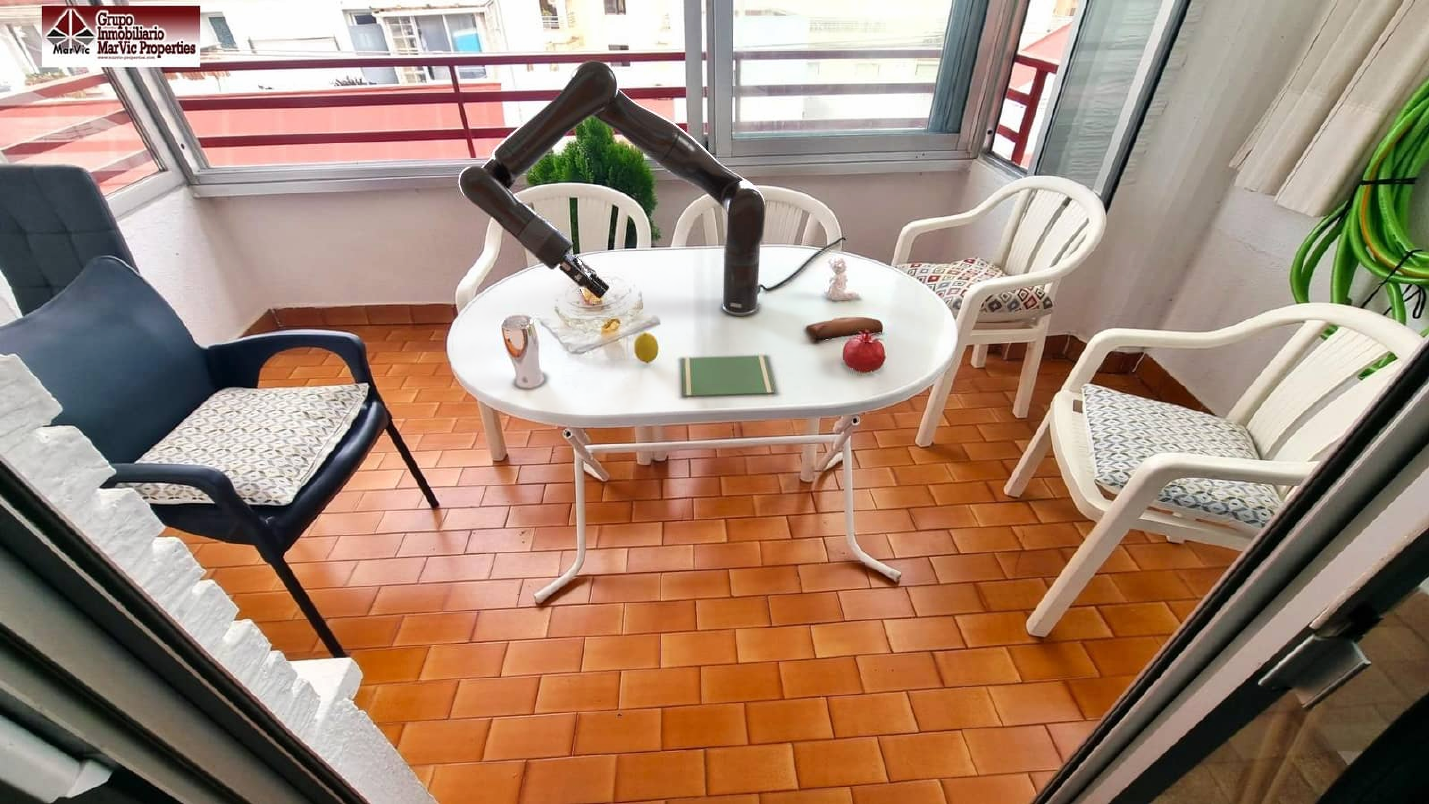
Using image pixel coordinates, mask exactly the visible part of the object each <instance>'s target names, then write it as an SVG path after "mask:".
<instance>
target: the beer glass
mask: <svg viewBox="0 0 1429 804" xmlns="http://www.w3.org/2000/svg"><path fill="white" fill-rule="evenodd" d="M500 328H501V335H502V340H503V344H504V348H505V350H506V353H507V355H508V358H509V359H510V361H511V363H512V366H513V368H514V372H515V373H514V374H515V383H516V386H518V387H519V388H522V389H532V388H535V387H538V386H540V385H541V384H542V383H543V382H544V380H545V376H544V374H543V372H542V370H541V366H540V356H539V355H540V350H539V349H540V347H539V338H538V333H537V329H536V326H535V324H534V320H533V318H532V316H530V315H527V314H514V315H510V316H507V317H505V318H504V319H503V320H501V322H500Z"/></svg>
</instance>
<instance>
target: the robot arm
mask: <svg viewBox="0 0 1429 804" xmlns="http://www.w3.org/2000/svg"><path fill="white" fill-rule="evenodd" d="M590 117H592V118H594V119H596V120H597V121H600V122H601V123H603V124H604V125H606V126H608V127H610V128H611V129H612V130H614V131H616V132H617V133H618V134H620V135H621V136H623V137H624V138H625V139H626V140H627V141H629V142H630V143H631V144H632V145H634V147H635V148H636V149H638V150H639V151H640V152H641V153H643V154H644V155H645V156H646V157H648V158H649V159H651V160H652V161H653V162H654V163H656V164H657V165H658V166H660V167H661V168H662V169H663V170H665V171H667V172H668V173H669V174H671V175H672V176H674V177H676V178H678V179H680V180H681V181H683V182H686V183H688V184H690V185H693V186H695V187H697V188H699V189H700V190H702V191H704V192H705V193H706V194H708V196H710V197H711V198H712V199H713V200H714V201H716V202H717V204H719V205H720V206H721V208H723V209H724V211H725V212H726V214H727V216H726V217H727V219H726V224H727V225H726V235H725V236H724V239H723V293H722V294H723V295H722V296H723V297H722V298H723V299H722V301H723V302H722V310H723V311H724V312H725V313H726V314H727V315H731V316H735V317H746V316H747V317H748V316H751V315H753V314H754V313H756V312H757V311H758V295H759V294H760V293H761V289H762V290H764V291H766V292H767V291H772V290H774V289H777V288H779V287H780V286H782V285H784V284H785V283H787V282H788V281H790V280H791V279H793V278H794V277H795V276H796V275H797V274H798V273H799V272H801V271H802V269H803V268H805V267H806V266H807V265H808V264H809V263H810V262H811V261H812V260H813V259H814V258H815V257H817V256H818V255H819V254H821V253H822V252H823V251H825V250H827V249H828V248H830V247H833V246H834V245H837V243H839V242H841V241H847V239H846V238H845V236H843V237H842V236H841V237H840V238H838V239H837V240H836V241H834V242H832V243H829V244H828V245H826V246H823V248H821V249H820V250H823V251H819V250H818V251H817V252H815V253H814V254H813V255H812V256H811V257H809V258H808V259H807V260H806V261H805V262H804V263H803V264H802V265H801V266H800V267H799V268H798V269H797V270H795V271H794V272H793V273H792V274H791V275H789V276H788V277H786V279H784V280H782V281H780V282H779V283H777V284H775V285H774V286H770V287H766V286H765V285H764V284H762V283H759V273H760V257H761V255H760V253H761V243H762V240H763V237H764V229H765V215H766V204H765V199H764V196H763V194H762V193H761V192H760V191H759V190H758V189H757V187H756V186H755V185H754V184H753V183H751V182H750V181H748V180H747V179H745V178H743V177H741V176H740V175H738V174H737V173H735V172H733V171H732V170H730V169H728V168H727V167H725V166H724V165H722V164H721V162H719V161H718V160H717V159H715V157H714V156H712V154H711V153H710V152H708V151H707V150H706V148H705V147H704V146H702V145H701V144H700V143H699V142H698V141H697V140H696V139H694V137H692V136H691V135H690V134H688V133H687V132H685V130H683V129H682V128H681V127H679V125H677V124H675V123H674V122H672V121H671V120H669V119H667V118H666V117H663V116H662V115H659V114H657V113H656V112H654V111H652V110H650V109H647V108H645V107H643V106H642V105H640V104H638V103H637V102H635V101H633V100H632V99H631V98H630V97H628V96H627V95H626V94H625V93H624V92H622V91H621V90H620V89H619V82H618V78H617V75H616V74H615V71H614V70H613V69H612V67H610V66H609V65H608V64H607V63H605V62H603V61H599V60H587V61H584V62H582V63H580V64H579V65H578V66H577V67H576V68H575V69H574V71H573V72H572V73H571V74H570V76H569V79H568V82H567V84H566V85H565V87H564V88H563V89H562V90H561V91H560V93H559V94H557V96H556V97H554V99H552V100H551V101H550V102H549V103H548V104H547V105H546V106H544V107H543V108H542V109H541V110H540V111H538V112H537V113H536V114H534V115H533V116H532V117H530V118H529V119H528V120H526V121H525V122H524V123H523V124H521V125H520V126H519V127H517V128H516V129H515V130H514V131H513V132H511V133H510V134H509V135H508V136H507V137H505V139H503V141H501V142H500V143H499V144H498V145H497V146H496V147H495V148H494V150H493V152H492V156H491V158H490V159H488V160H487V162H485V164H484V165H483V166H479V165H471V166H468V167H465V168H464V169H463V170H462V171H461V173H460V174H459V178H458V184H459V189H460V191H461V193H462V194H463V196H464V197H465V198H466V199H467V200H468V201H470V202H471V203H472V204H473V205H475V206H476V207H477V208H479V209H481V210H482V211H483V212H485V213H486V214H487V215H489V216H490V217H491V218H492V219H493V220H495V222H497V224H498V225H500V227H501V228H502V229H503V230H504V231H506V232H507V233H508V234H509V235H511V237H513V238H514V239H515V240H516V241H517V242H519V244H521V246H522V247H523V248H524V249H525V250H527V251H528V253H530V254H531V255H532V256H533V257H535V258H536V259H537V260H539V261H540V262H541V263H542V264H543V265H544V266H546V267H547V268H548V269H549V270H550V271H551V270H552V271H553V270H554V269H556V268H557V267H558V269H559V270H560V271H561V272H563V273H564V274H565V275H566V276H568V278H570V279H571V280H572V281H573V282H574V283H575V284H577V286H579V287H584V288H587V289H588V290H589V291H590V292H591V293H593V294H594V296H596V298H597V299H602V297H603V296H604V295H605V294H606V293H607V292H608V290H609V289H610V285H608V283H607V282H606V281H604V280H603V279H601V277H600V276H598V274H597V272H596V270H595V269H593V268H592V267H590V265H588V264H587V263H586V262H585V261H583V260H582V258H580V257H579V256H578V255H576V254H574V255H572V254H571V253H570V252H571V251H572V249H573V247H574V242H573V241H571V240H570V239H569V238H568V237H567V236H566V235H565V234H563V233H562V232H561V231H560V230H558V228H556V227H555V226H554V225H553V224H552V223H551V222H549V221H548V220H547V219H545V218H544V217H542V216H541V215H539V214H538V213H537V212H536V211H535V210H533V208H531V207H530V206H529V205H528V204H527V203H526V202H524V201H523V200H521V199H520V198H518V197H517V196H516V195H515V194H514V193H513V192H512V191H511V190H510V189H511V188H512V187H513V186H514V184H515V183H516V182H517V181H518V180H519V179H520V178H521V177H523V176H524V174H526V173H527V172H529V170H531V168H533V167H534V166H535V165H536V164H537V163H538V162H540V160H541V159H542V158H544V157H545V156H546V155H547V154H548V153H549V152H550V151H551V150H552V149H553V148H554V147H555V146H556V145H557V144H558V143H559V142H561V140H562V139H563V138H564V137H566V135H568V134H569V133H570V132H571V131H573V129H574V128H576V127H577V126H579V125H580V124H581V123H582V122H584V121H585V120H587V119H589V118H590Z"/></svg>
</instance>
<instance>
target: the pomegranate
mask: <svg viewBox="0 0 1429 804" xmlns="http://www.w3.org/2000/svg"><path fill="white" fill-rule="evenodd" d="M858 333H860V334H861V335H855V336H854V337H852V338H849V339H848V340H847V342H846V343H844V345H843V348H842V360H843V362H844V361H845V362H844V363H845V365H846V366H847V367H848V369H849V368H850V369H851V370H853V371H855V372H858V373H861V374H867V373H868V374H869V373H874V372H876V371H878V370H879V369H880V368H882V367H883V366H884V363H885V361H886V359H887V356H886V352H885V351H886V350H885V347H884V345H883V343H882V342H883V341H885V340H884V339H881V338H878V337H873V336H876V335H877V333H872V334H869V330H865V334H863V333H862V332H859V331H858ZM881 341H882V342H881ZM852 368H853V369H852ZM875 370H876V371H875ZM859 371H860V372H859ZM871 371H872V372H871Z"/></svg>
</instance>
